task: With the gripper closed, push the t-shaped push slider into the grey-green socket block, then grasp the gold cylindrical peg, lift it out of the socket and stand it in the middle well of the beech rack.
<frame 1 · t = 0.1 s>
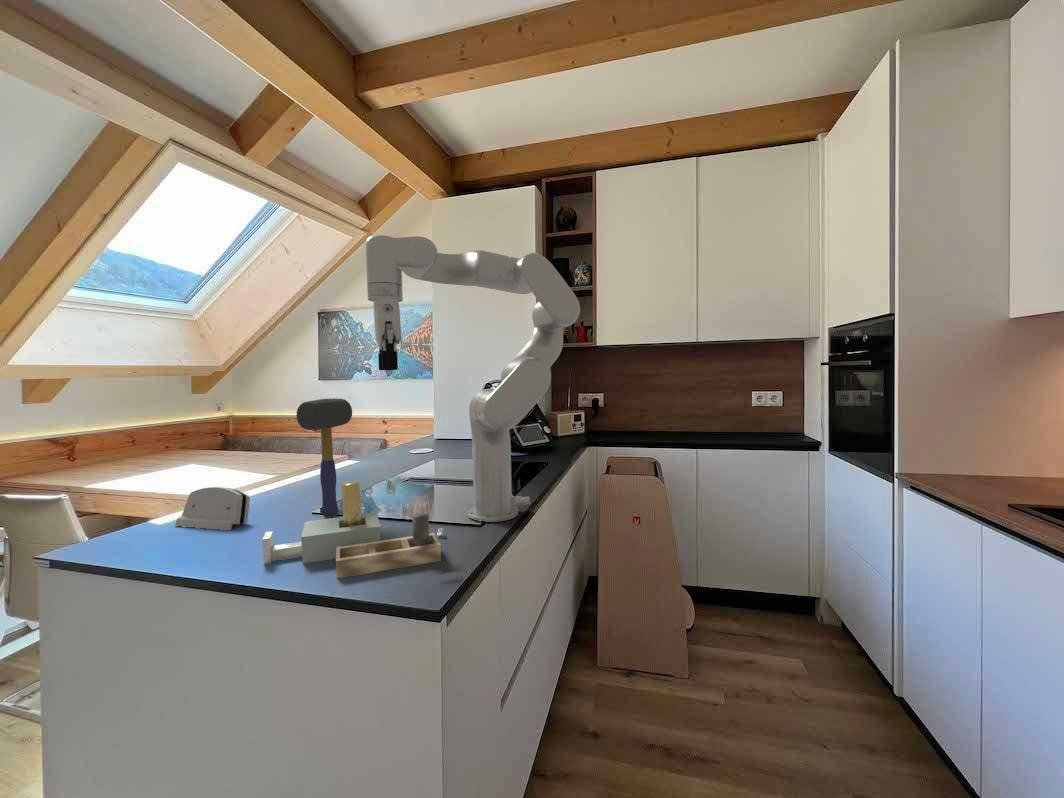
hand: (387, 370, 107), 37 cm above the countertop, tool pointing down, fingers open, 9 cm apart
adhesive hook: (433, 544, 101), on the countertop
t-shaped push slider: (289, 546, 91), point 3 cm above the countertop, slide at 0.0 cm
grey rounded block: (215, 524, 116), on the countertop
gold cylindrical peg: (353, 546, 96), point 1 cm above the countertop, touching socket block
rack: (389, 567, 88), on the countertop
rubber mallet: (330, 517, 119), on the countertop
socket block: (353, 551, 96), on the countertop
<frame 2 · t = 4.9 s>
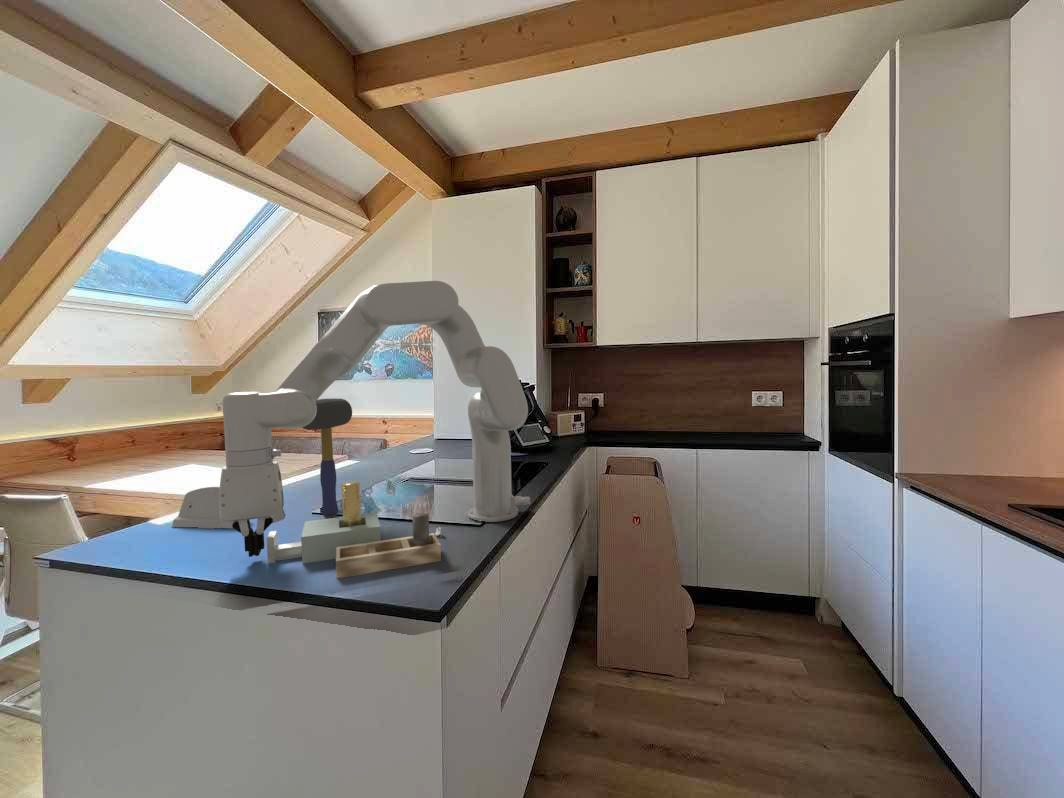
hand: (255, 553, 89), 2 cm above the countertop, tool pointing down, fingers closed
t-shaped push slider: (292, 545, 91), point 3 cm above the countertop, slide at 0.7 cm, touching gripper
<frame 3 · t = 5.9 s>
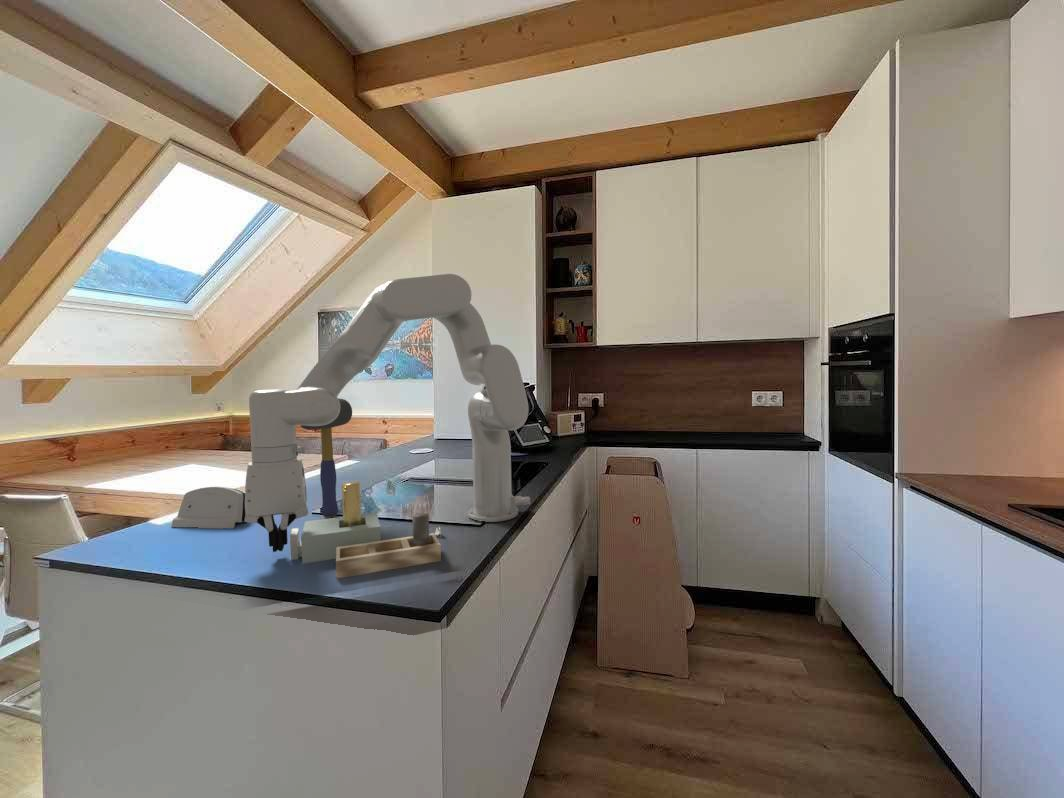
hand: (278, 548, 90), 3 cm above the countertop, tool pointing down, fingers closed
t-shaped push slider: (315, 542, 93), point 3 cm above the countertop, slide at 4.6 cm, touching gripper
everything else where it was.
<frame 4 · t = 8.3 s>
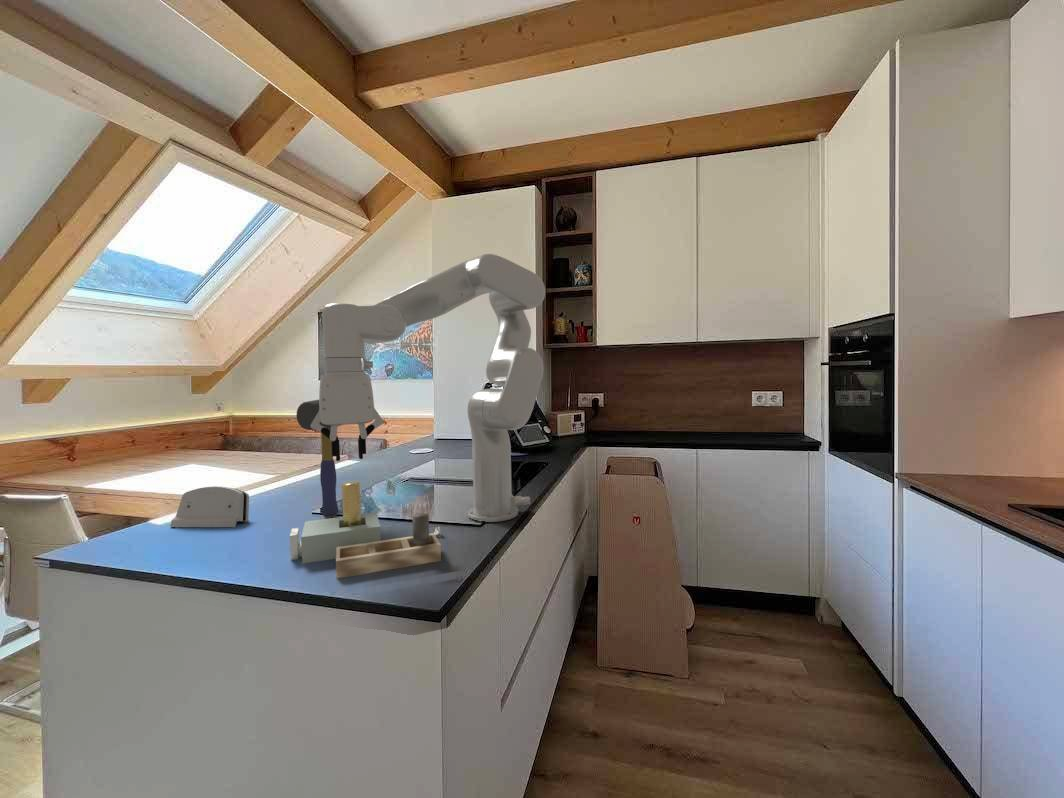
hand: (349, 458, 94), 19 cm above the countertop, tool pointing down, fingers open, 3 cm apart
t-shaped push slider: (314, 542, 93), point 3 cm above the countertop, slide at 4.5 cm
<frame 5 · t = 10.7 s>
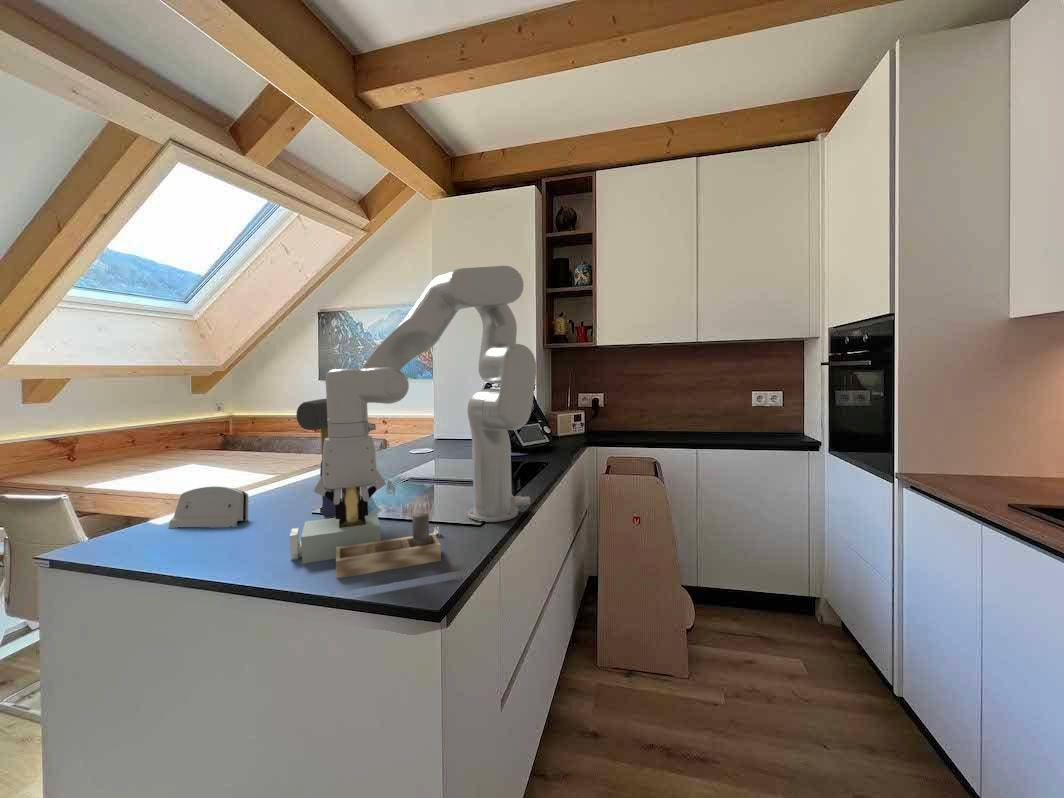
hand: (352, 519, 95), 7 cm above the countertop, tool pointing down, fingers closed on gold cylindrical peg, 3 cm apart
gold cylindrical peg: (353, 546, 96), point 1 cm above the countertop, touching gripper, socket block
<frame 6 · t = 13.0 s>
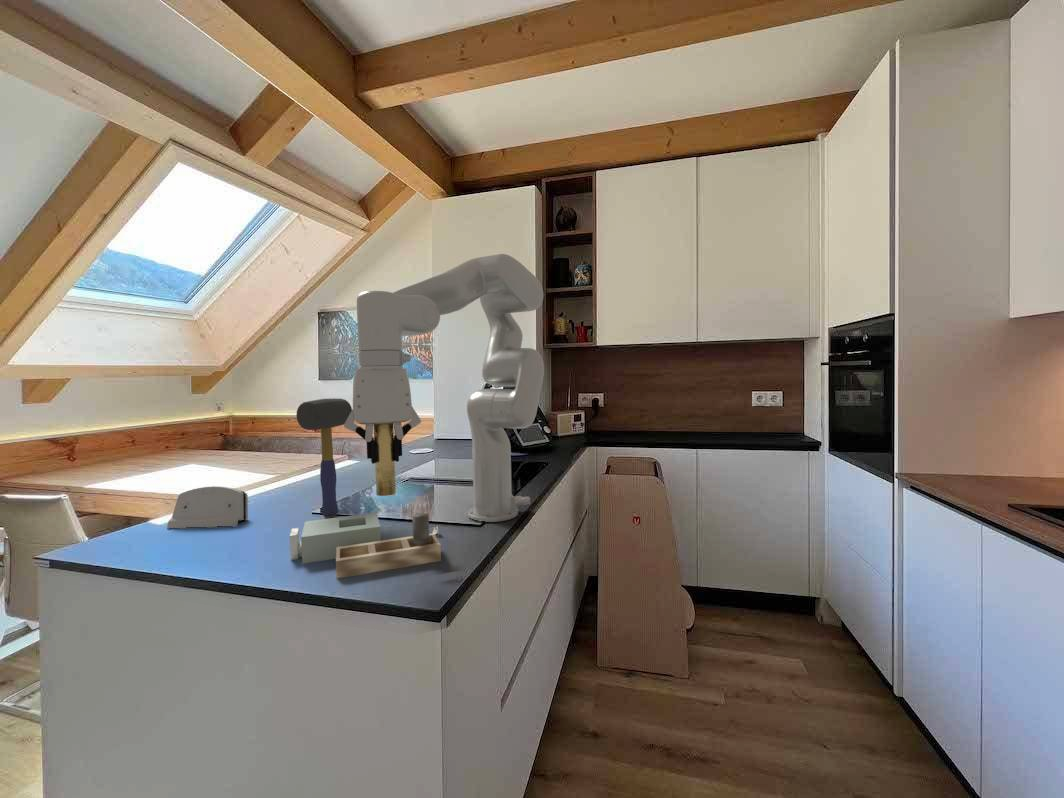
hand: (384, 460, 86), 20 cm above the countertop, tool pointing down, fingers closed on gold cylindrical peg, 3 cm apart
gold cylindrical peg: (386, 493, 87), point 14 cm above the countertop, touching gripper
when the fingers open (7 cm above the countertop, at t = 15.6 s): gold cylindrical peg stays where it is, resting on rack.
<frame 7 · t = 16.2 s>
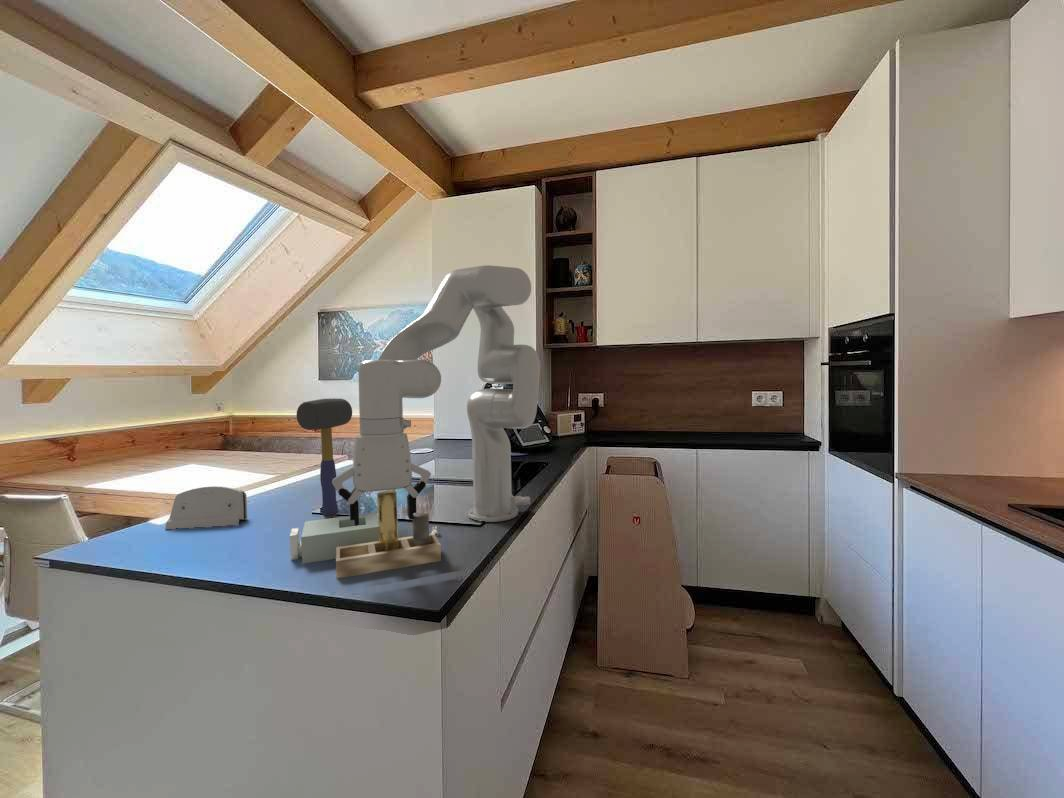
hand: (384, 520, 87), 9 cm above the countertop, tool pointing down, fingers open, 9 cm apart
gold cylindrical peg: (389, 561, 88), point 1 cm above the countertop, touching rack
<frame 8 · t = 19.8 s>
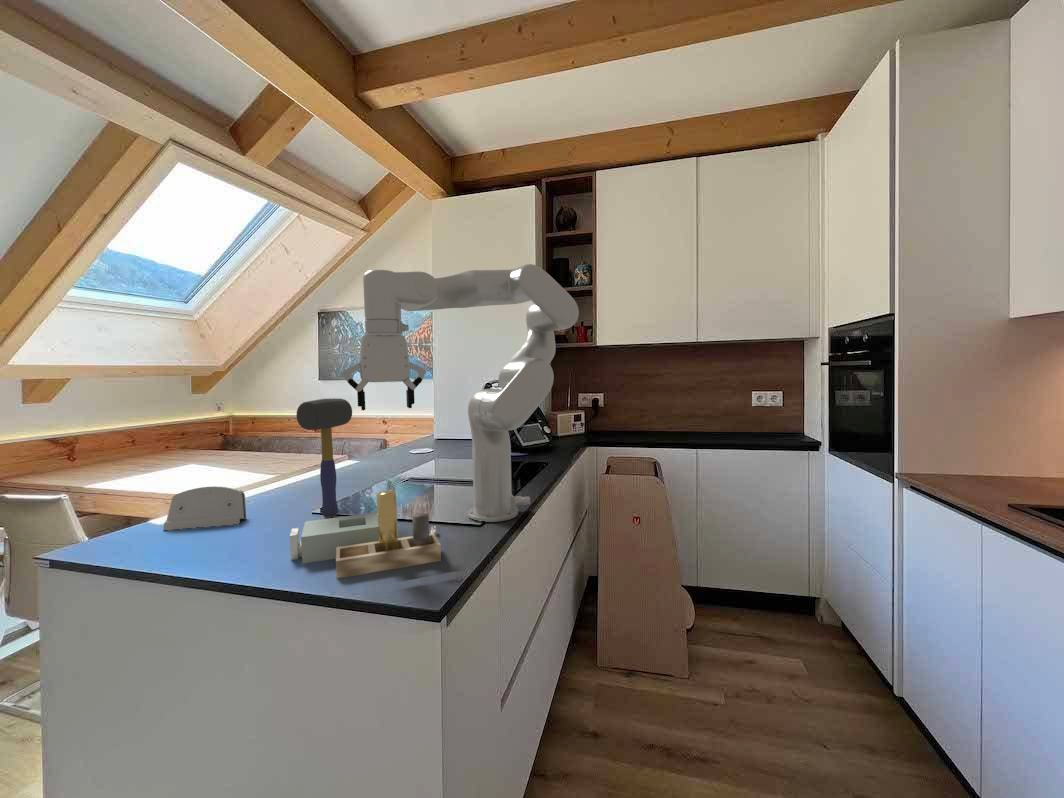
hand: (386, 408, 102), 28 cm above the countertop, tool pointing down, fingers open, 9 cm apart
at the end: t-shaped push slider slide at 4.5 cm; gold cylindrical peg 0.1 cm off-centre on the rack, point 1.0 cm above the rack's base; gold cylindrical peg tilted 0° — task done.
